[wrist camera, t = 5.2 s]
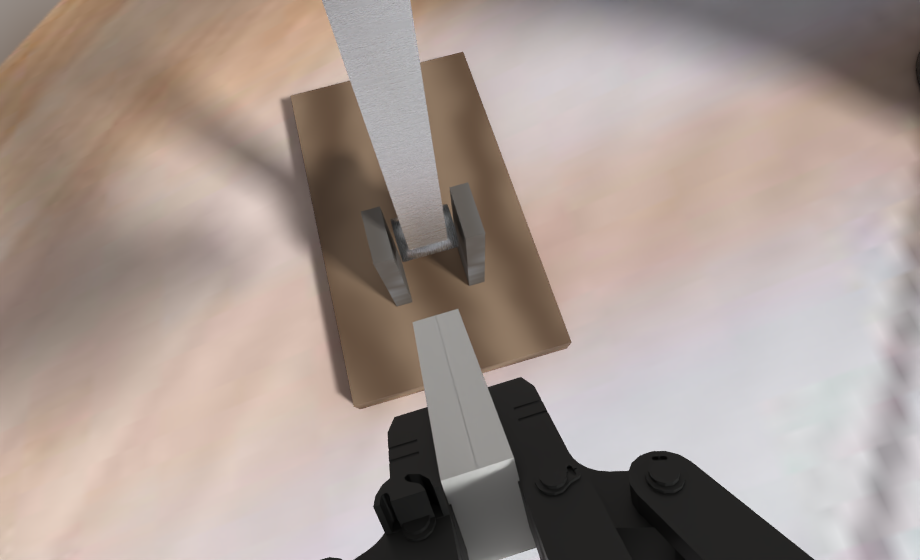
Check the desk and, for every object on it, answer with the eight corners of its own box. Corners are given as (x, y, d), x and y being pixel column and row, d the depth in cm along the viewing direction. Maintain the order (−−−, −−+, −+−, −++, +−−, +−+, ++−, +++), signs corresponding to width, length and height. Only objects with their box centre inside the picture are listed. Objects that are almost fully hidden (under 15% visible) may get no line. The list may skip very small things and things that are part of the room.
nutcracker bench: (463, 68, 46) (459, -37, 37) (566, 348, 37) (597, 308, 27) (298, 110, 46) (247, 14, 36) (360, 409, 36) (314, 390, 26)
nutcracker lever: (430, 160, 34) (328, -430, 11) (461, 259, 32) (407, -253, 9) (380, 173, 34) (175, -401, 11) (406, 274, 31) (210, -210, 9)
